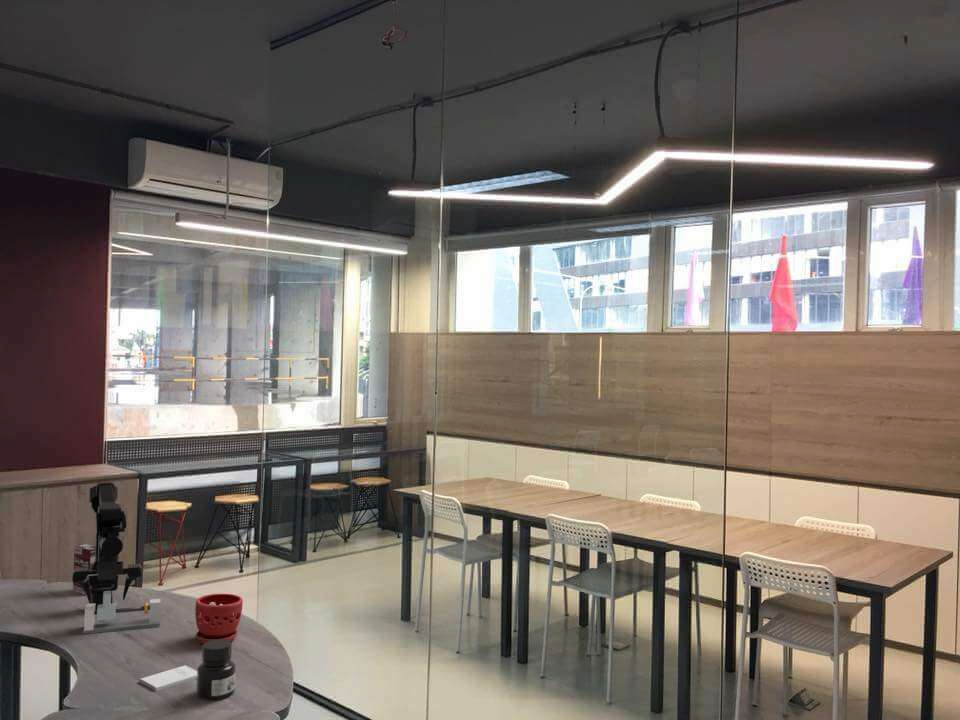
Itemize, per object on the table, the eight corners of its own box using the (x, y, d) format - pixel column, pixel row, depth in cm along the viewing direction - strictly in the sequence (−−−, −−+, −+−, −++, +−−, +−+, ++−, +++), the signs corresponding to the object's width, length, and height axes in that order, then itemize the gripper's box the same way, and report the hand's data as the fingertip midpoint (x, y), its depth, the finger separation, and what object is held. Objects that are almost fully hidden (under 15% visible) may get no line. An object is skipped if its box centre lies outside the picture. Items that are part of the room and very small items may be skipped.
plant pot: (214, 650, 218) (215, 608, 218) (184, 641, 225) (186, 599, 225) (250, 637, 229) (252, 597, 229) (221, 628, 236) (222, 589, 236)
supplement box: (71, 591, 269) (73, 546, 270) (84, 588, 274) (86, 543, 274) (88, 595, 265) (89, 549, 266) (100, 592, 270) (102, 546, 270)
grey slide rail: (82, 634, 228) (83, 610, 228) (84, 626, 235) (85, 603, 235) (159, 626, 236) (160, 603, 236) (159, 619, 243) (160, 597, 243)
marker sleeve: (96, 620, 231) (97, 594, 231) (97, 616, 234) (98, 591, 235) (115, 618, 233) (116, 593, 233) (115, 615, 236) (116, 590, 237)
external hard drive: (139, 684, 195) (184, 670, 205) (155, 693, 190) (201, 678, 200) (139, 678, 195) (184, 664, 205) (155, 687, 190) (201, 672, 200)
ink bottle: (219, 704, 184) (221, 653, 184) (187, 699, 186) (189, 649, 186) (242, 688, 193) (244, 640, 193) (212, 683, 196) (213, 635, 196)
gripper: (71, 557, 223) (69, 612, 223) (141, 553, 230) (140, 605, 230) (74, 549, 233) (73, 600, 233) (142, 545, 241) (140, 595, 240)
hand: (106, 601), depth 234 cm, fingers open, 9 cm apart
